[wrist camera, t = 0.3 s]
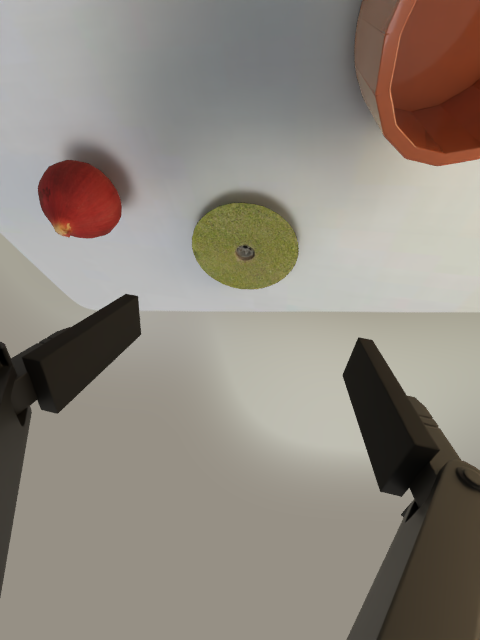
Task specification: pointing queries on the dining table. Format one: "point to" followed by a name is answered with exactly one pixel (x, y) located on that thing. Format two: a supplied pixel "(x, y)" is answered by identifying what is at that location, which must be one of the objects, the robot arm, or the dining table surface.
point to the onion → (79, 200)
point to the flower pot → (422, 76)
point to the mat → (245, 245)
